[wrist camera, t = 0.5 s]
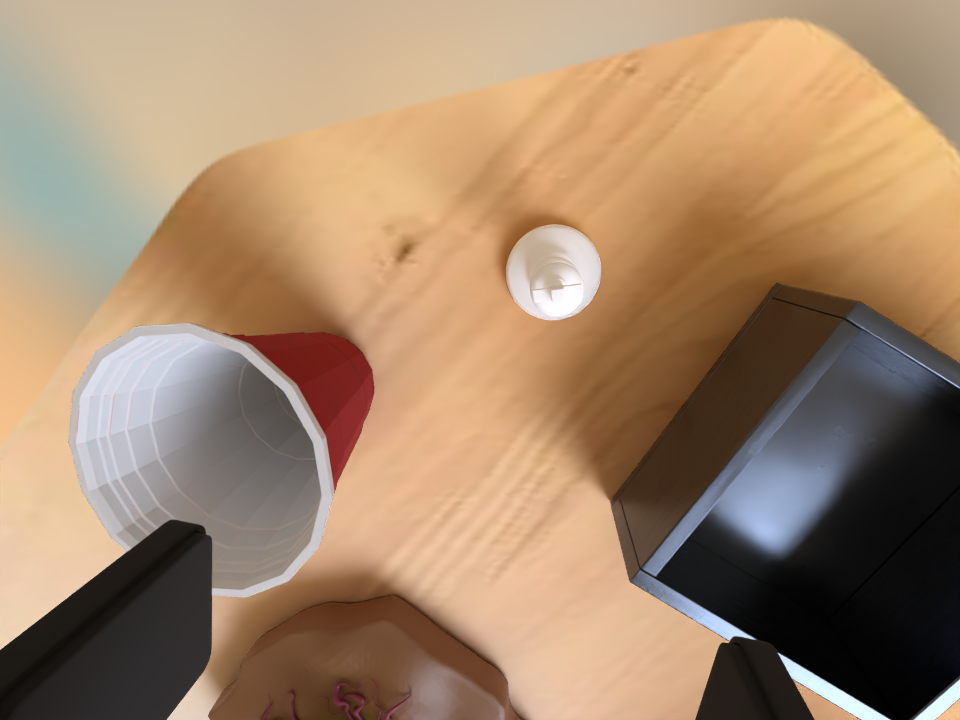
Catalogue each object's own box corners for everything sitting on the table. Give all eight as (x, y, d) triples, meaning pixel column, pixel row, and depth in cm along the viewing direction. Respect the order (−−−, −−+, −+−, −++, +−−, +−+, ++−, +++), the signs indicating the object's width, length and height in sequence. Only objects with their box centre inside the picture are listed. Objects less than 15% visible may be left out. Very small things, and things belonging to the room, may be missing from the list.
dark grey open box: (776, 282, 26) (859, 300, 19) (1019, 432, 26) (1187, 503, 19) (609, 501, 30) (629, 582, 23) (823, 629, 30) (905, 747, 23)
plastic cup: (234, 275, 29) (31, 304, 18) (422, 299, 28) (337, 346, 17) (236, 452, 32) (61, 577, 20) (407, 479, 31) (326, 627, 19)
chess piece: (605, 313, 27) (638, 358, 18) (512, 324, 28) (496, 374, 18) (596, 217, 26) (628, 209, 17) (500, 231, 27) (476, 231, 17)
